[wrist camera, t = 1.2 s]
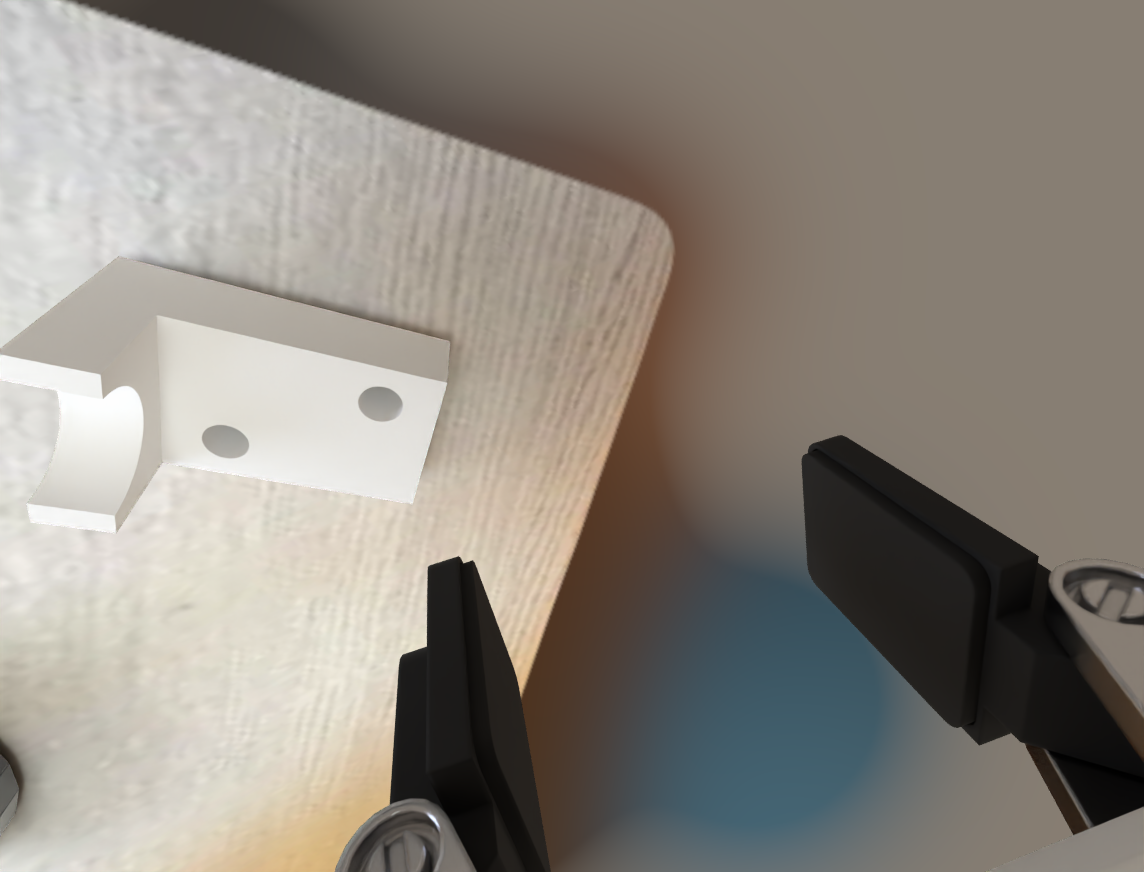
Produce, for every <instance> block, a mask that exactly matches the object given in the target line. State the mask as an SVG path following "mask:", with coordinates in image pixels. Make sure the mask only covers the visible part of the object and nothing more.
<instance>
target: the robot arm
mask: <svg viewBox="0 0 1144 872" xmlns="http://www.w3.org/2000/svg"><path fill="white" fill-rule="evenodd" d="M802 478H803V495H804V513H805V530H806V546H807V547H806V548H807V563H808V564H807V565H808V570H809V574H810V576H811V578H812V580H813V582H814V583H815V584H816V586H817V587H818V588H819V589H820V590H821V591H822V592H823V593H824V594H825V595H826V596H827V597H828V598H829V599H830V600H831V601H832V603H833V604H834V605H835V606H836V607H837V608H838V609H839V610H840V611H841V612H842V613H843V614H844V615H845V616H846V617H847V618H848V619H849V620H850V622H851V623H852V624H853V625H854V626H855V627H856V628H857V629H858V630H859V631H860V632H861V633H862V634H863V635H864V636H865V637H866V638H867V639H868V640H869V642H870V643H871V644H872V645H873V646H874V647H875V648H876V649H877V650H878V651H879V652H880V653H881V654H882V655H883V656H884V657H885V658H886V659H887V660H888V661H889V663H890V664H891V665H892V666H893V667H894V668H895V669H896V670H897V671H898V672H899V673H900V674H901V675H902V676H903V677H904V678H905V679H906V680H907V682H908V683H909V684H910V685H912V687H913V688H914V689H915V690H916V691H917V692H918V693H919V694H920V695H921V696H922V697H923V698H924V699H925V700H926V702H927V703H928V704H929V705H930V706H931V707H932V708H933V709H934V710H935V711H936V712H937V713H938V714H939V715H940V716H941V717H942V718H943V719H944V720H945V721H946V722H947V723H948V724H950V725H951V726H953V727H956V728H958V727H962V728H963V729H964V730H965V731H966V732H967V733H968V734H969V735H970V736H971V737H972V738H973V740H974V741H975V742H977V744H978V745H982V744H984V743H987V742H990V741H992V740H995V739H997V738H1000V737H1002V736H1005V735H1007V734H1010V732H1011V733H1012V734H1013V735H1014V736H1015V737H1016V738H1017V739H1018V740H1019V741H1020V742H1022V743H1025V745H1026V748H1027V750H1028V752H1029V754H1030V755H1031V757H1032V759H1033V761H1034V763H1035V765H1036V767H1037V769H1038V770H1039V772H1040V774H1041V776H1042V778H1043V780H1044V782H1045V783H1046V785H1047V787H1048V789H1049V791H1050V793H1051V794H1052V796H1053V798H1054V799H1055V802H1056V804H1057V806H1058V807H1059V809H1060V811H1061V813H1062V814H1063V817H1064V819H1065V820H1066V822H1067V824H1068V826H1069V828H1070V829H1071V831H1072V833H1073V836H1071V837H1068V838H1066V839H1063V840H1061V841H1058V842H1056V843H1054V844H1051V845H1049V846H1046V847H1044V848H1041V849H1039V850H1036V851H1034V852H1032V853H1029V854H1027V855H1024V856H1022V857H1020V858H1017V859H1015V860H1012V861H1010V862H1007V863H1005V864H1003V865H1000V866H998V867H995V868H993V869H991V870H988V871H986V872H1144V568H1141V567H1137V566H1134V565H1131V564H1128V563H1124V562H1118V561H1113V560H1107V559H1079V560H1072V561H1068V562H1065V563H1063V564H1061V565H1059V566H1057V567H1055V569H1054V570H1053V571H1052V572H1051V571H1050V570H1048V569H1047V568H1045V567H1043V566H1042V565H1040V564H1039V563H1038V557H1039V556H1037V555H1036V554H1034V553H1033V552H1031V551H1029V550H1028V549H1026V548H1025V547H1023V546H1021V545H1020V544H1018V543H1017V542H1015V541H1013V540H1012V539H1010V538H1008V537H1007V536H1005V535H1004V534H1002V533H1000V532H999V531H997V530H996V529H994V528H992V527H991V526H989V525H987V524H986V523H984V522H983V521H981V520H979V519H978V518H976V517H975V516H973V515H971V514H970V513H968V512H967V511H965V510H963V509H962V508H960V507H958V506H957V505H955V504H953V503H952V502H950V501H948V500H947V499H946V498H944V497H942V496H941V495H939V494H937V493H936V492H934V491H933V490H931V489H929V488H928V487H926V486H925V485H922V484H921V483H920V482H918V481H916V480H915V479H913V478H912V477H910V476H908V475H907V474H905V473H904V472H902V471H900V470H899V469H897V468H895V467H894V466H892V465H891V464H889V463H887V462H886V461H884V460H883V459H881V458H879V457H878V456H876V455H874V454H873V453H871V452H870V451H868V450H866V449H865V448H863V447H861V446H860V445H858V444H857V443H855V442H853V441H852V440H850V439H849V438H847V437H845V436H842V435H840V436H836V437H832V438H829V439H826V440H823V441H820V442H816V443H813V444H812V445H810V446H809V449H808V453H807V454H805V455H803V457H802ZM335 872H551V871H550V865H549V859H548V853H547V848H546V842H545V836H544V830H543V825H542V818H541V813H540V807H539V801H538V796H537V790H536V784H535V778H534V773H533V766H532V761H531V755H530V749H529V743H528V737H527V732H526V726H525V720H524V714H523V708H522V703H521V697H520V691H519V686H518V681H517V677H516V674H515V670H514V667H513V665H512V662H511V659H510V657H509V654H508V651H507V648H506V646H505V643H504V640H503V638H502V635H501V632H500V630H499V627H498V624H497V622H496V619H495V616H494V613H493V611H492V608H491V605H490V603H489V600H488V597H487V595H486V592H485V589H484V586H483V584H482V581H481V578H480V576H479V573H478V570H477V568H476V565H475V563H474V561H470V562H466V563H463V562H462V560H461V558H460V557H459V556H458V557H455V558H452V559H449V560H446V561H442V562H439V563H436V564H433V565H430V566H429V567H428V588H427V647H424V648H421V649H418V650H415V651H412V652H409V653H406V654H403V655H402V657H401V658H400V663H399V673H398V688H397V703H396V718H395V733H394V748H393V763H392V778H391V793H390V805H389V806H387V807H385V808H383V809H382V810H380V811H378V812H377V813H375V814H374V815H373V816H372V817H371V818H369V819H368V820H367V821H366V822H365V823H364V824H363V825H362V826H361V827H360V828H359V829H358V830H357V831H356V833H355V834H354V835H353V837H352V838H351V839H350V841H349V842H348V844H347V845H346V846H345V848H344V851H343V853H342V855H341V857H340V859H339V861H338V863H337V866H336V869H335Z"/></svg>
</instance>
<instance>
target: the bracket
mask: <svg viewBox="0 0 1144 872" xmlns="http://www.w3.org/2000/svg"><path fill="white" fill-rule="evenodd" d="M449 353H450V341H447V340H443V339H439V338H436V337H432V336H428V335H424V334H420V333H416V332H412V331H408V330H404V329H400V328H397V327H393V326H389V325H385V324H381V323H377V322H373V321H369V320H365V319H361V318H358V317H354V316H350V315H346V314H342V313H338V312H334V311H330V310H326V309H322V308H319V307H315V306H311V305H307V304H303V303H299V302H295V301H291V300H287V299H283V298H280V297H276V296H272V295H268V294H264V293H260V292H256V291H252V290H248V289H244V288H241V287H237V286H233V285H229V284H225V283H221V282H217V281H213V280H209V279H205V278H202V277H198V276H194V275H190V274H186V273H182V272H178V271H174V270H170V269H166V268H163V267H159V266H155V265H151V264H147V263H143V262H139V261H135V260H131V259H127V258H124V257H120V256H118V257H117V258H116V259H115V260H113V261H112V262H111V263H109V264H108V265H107V266H106V267H104V268H103V269H102V270H100V271H99V272H98V273H97V274H95V275H94V276H93V277H91V278H90V279H89V280H88V281H86V282H85V283H84V284H82V285H81V286H80V287H79V288H77V289H76V290H75V291H73V292H72V293H71V294H70V295H68V296H67V297H66V298H65V299H63V300H62V301H61V302H59V303H58V304H57V305H56V306H54V307H53V308H52V309H50V310H49V311H48V312H47V313H45V314H44V315H43V316H41V317H40V318H39V319H38V320H36V321H35V322H34V323H32V324H31V325H30V326H29V327H27V328H26V329H25V330H23V331H22V332H21V333H20V334H18V335H17V336H16V337H14V338H13V339H12V340H11V341H9V342H8V343H7V344H6V345H4V346H3V347H2V348H0V380H2V381H7V382H13V383H18V384H23V385H28V386H34V387H39V388H44V389H49V390H55V391H57V394H58V398H59V405H60V423H59V432H58V437H57V442H56V446H55V450H54V453H53V456H52V459H51V462H50V464H49V467H48V469H47V471H46V473H45V475H44V477H43V479H42V481H41V483H40V485H39V486H38V488H37V490H36V491H35V493H34V494H33V495H32V497H31V498H30V499H29V501H28V502H27V503H26V504H27V509H28V514H29V518H30V522H32V523H40V524H48V525H55V526H63V527H71V528H78V529H86V530H94V531H101V532H109V533H117V532H118V530H119V529H120V527H121V526H122V524H123V522H124V521H125V519H126V518H127V516H128V515H129V513H130V512H131V510H132V509H133V507H134V505H135V504H136V502H137V501H138V499H139V498H140V496H141V495H142V493H143V492H144V490H145V488H146V487H147V485H148V484H149V482H150V481H151V479H152V478H153V476H154V474H155V473H156V471H157V470H158V468H159V467H160V465H161V464H162V463H166V464H172V465H178V466H184V467H190V468H196V469H202V470H208V471H214V472H220V473H226V474H232V475H238V476H244V477H250V478H256V479H262V480H268V481H274V482H280V483H286V484H292V485H298V486H304V487H310V488H316V489H322V490H328V491H335V492H341V493H347V494H353V495H359V496H365V497H371V498H377V499H383V500H389V501H395V502H401V503H407V504H413V500H414V497H415V493H416V490H417V487H418V483H419V480H420V476H421V473H422V469H423V466H424V462H425V459H426V455H427V452H428V449H429V445H430V442H431V438H432V435H433V431H434V428H435V424H436V421H437V417H438V414H439V410H440V407H441V404H442V400H443V397H444V393H445V390H446V386H447V382H448V368H449Z"/></svg>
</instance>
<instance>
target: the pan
mask: <svg viewBox="0 0 1144 872" xmlns="http://www.w3.org/2000/svg"><path fill="white" fill-rule="evenodd" d="M18 794H19V787H18V784H17V781H16V779H15V776H14V774H13V771H12V769H11V766H10V764H9V762H8V761H7V760H6V759H5V758H4V757H3V756H2V755H1V754H0V836H1V835H2V833H3V832H4V830H5V828H6V827H7V825H8V824H9V822H10V821H11V819H12V818H13V816H14V814H15V813H16V806H17V800H18Z"/></svg>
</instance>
